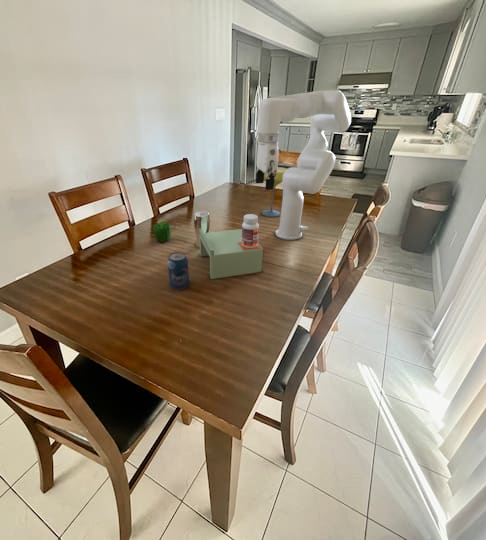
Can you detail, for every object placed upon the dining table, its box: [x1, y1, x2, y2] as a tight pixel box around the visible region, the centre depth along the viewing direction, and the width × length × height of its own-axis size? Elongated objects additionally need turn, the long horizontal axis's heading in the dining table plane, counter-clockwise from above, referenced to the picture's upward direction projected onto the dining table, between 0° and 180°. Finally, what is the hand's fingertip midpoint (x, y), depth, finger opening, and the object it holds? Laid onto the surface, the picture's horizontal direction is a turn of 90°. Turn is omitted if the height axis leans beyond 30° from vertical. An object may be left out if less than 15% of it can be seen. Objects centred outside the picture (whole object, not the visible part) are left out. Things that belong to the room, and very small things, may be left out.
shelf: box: [199, 228, 264, 280], centre depth 117 cm, size 20×20×12 cm
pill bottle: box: [241, 213, 260, 248], centre depth 108 cm, size 6×6×11 cm
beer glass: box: [193, 210, 211, 249], centre depth 130 cm, size 7×7×15 cm
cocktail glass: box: [261, 164, 291, 218], centre depth 163 cm, size 18×18×25 cm
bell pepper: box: [152, 219, 172, 243], centre depth 136 cm, size 8×8×10 cm
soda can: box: [167, 251, 190, 291], centre depth 103 cm, size 7×7×12 cm
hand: (264, 186), depth 115 cm, fingers open, 9 cm apart
